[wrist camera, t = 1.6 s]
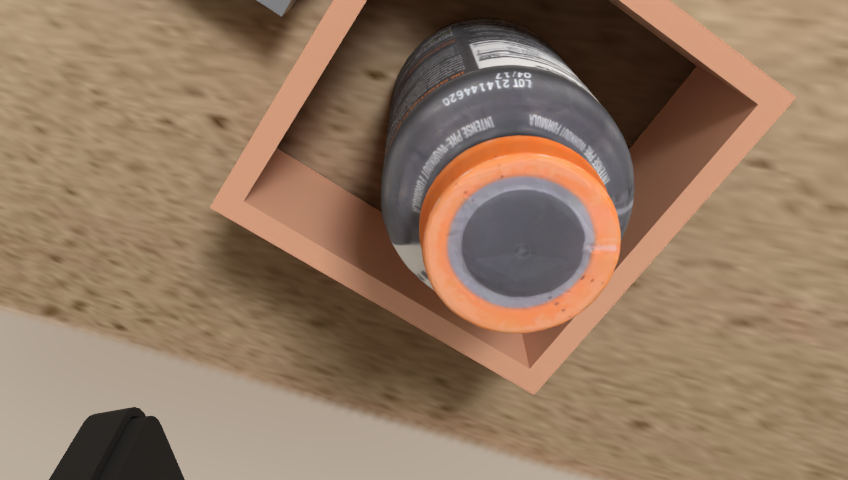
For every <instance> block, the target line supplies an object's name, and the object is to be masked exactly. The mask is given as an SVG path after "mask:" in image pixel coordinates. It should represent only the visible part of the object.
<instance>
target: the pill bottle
mask: <svg viewBox="0 0 848 480" xmlns="http://www.w3.org/2000/svg"><path fill="white" fill-rule="evenodd" d="M634 192H635V188H634V171H633V163H632V160H631V155H630V152H629V149H628V147H627V144H626V141H625V139H624V137H623V135H622V133H621V132H620V130H619V128H618V126H617V125H616V123H615V121H614V120H613V119H612V117H611V116H610V114H609V113H608V112H607V110H606V109H605V108H604V107H603V106H602V105H601V104H600V103H599V102H598V100H597V99H596V98H595V97H594V96H593V94H592V93H591V92H590V91H589V89H588V88H587V87H586V86H585V85H584V84H583V83H582V82H581V81H580V80H579V78H578V77H577V76H576V75H575V74H574V73H573V71H572V70H571V69H570V68H569V67H568V66H567V65H566V64H565V63H564V61H563V60H562V59H561V58H560V57H559V56H558V54H557V53H556V52H555V51H554V50H553V49H552V48H551V47H550V46H549V45H548V44H547V43H546V42H545V41H544V40H542V39H541V38H540V37H539V36H537V35H536V34H535V33H533V32H532V31H530V30H528V29H527V28H525V27H523V26H520V25H518V24H515V23H512V22H509V21H505V20H500V19H492V18H482V19H469V20H465V21H461V22H457V23H454V24H451V25H448V26H446V27H445V28H443V29H441V30H439V31H437V32H436V33H434V34H433V35H431V36H429V37H428V38H427V39H425V40H424V41H423V42H422V43H421V44H420V45H419V46H418V47H417V48H416V49H415V51H414V52H413V53H412V54H411V55H410V56H409V58H408V59H407V61H406V62H405V64H404V66H403V67H402V69H401V71H400V73H399V75H398V77H397V80H396V83H395V87H394V91H393V95H392V99H391V104H390V116H389V124H388V131H387V140H386V150H385V157H384V165H383V172H382V181H381V209H382V217H383V221H384V224H385V226H386V230H387V233H388V235H389V238H390V240H391V242H392V244H393V246H394V248H395V249H396V251H397V253H398V254H399V256H400V257H401V259H402V260H403V262H404V263H405V264H406V266H407V267H408V268H409V269H410V270H411V271H412V272H413V273H414V274H415V275H416V276H417V277H418V278H419V279H420V280H421V281H423V282H424V283H425V284H426V285H427V286H429V287H430V288H431V289H433V290H434V291H435V292H436V294H437V295H438V296H439V297H440V299H441V300H442V301H443V302H444V304H445V305H446V306H447V307H448V308H449V309H450V310H451V311H453V312H454V313H455V314H457V315H458V316H459V317H461V318H462V319H464V320H466V321H468V322H470V323H472V324H474V325H476V326H478V327H481V328H484V329H487V330H491V331H496V332H503V333H514V334H518V333H531V332H536V331H541V330H545V329H548V328H552V327H555V326H558V325H560V324H563V323H565V322H567V321H568V320H570V319H572V318H573V317H575V316H577V315H578V314H580V313H581V312H582V311H584V310H585V309H586V308H587V307H588V306H590V305H591V304H592V303H593V302H594V301H595V300H596V299H597V297H598V296H599V295H600V294H601V292H602V291H603V290H604V288H605V287H606V286H607V285H608V283H609V281H610V279H611V277H612V275H613V272H614V269H615V267H616V264H617V262H618V259H619V254H620V247H621V240H622V238H623V235H624V233H625V230H626V228H627V225H628V222H629V219H630V216H631V212H632V208H633V200H634Z"/></svg>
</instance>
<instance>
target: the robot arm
mask: <svg viewBox="0 0 848 480" xmlns="http://www.w3.org/2000/svg"><path fill="white" fill-rule="evenodd" d="M49 480H184V477H183V475H182V473H181V470H180V468H179V466H178V463H177V461H176V459H175V456H174V454H173V452H172V449H171V447H170V445H169V442H168V440H167V438H166V435H165V433H164V431H163V428H162V426H161V424H160V422H159V420H158V419H157V418H156V417H154V416H147V417H146V416H145V414H144V412H142V411H141V410H140V409H139V408H136V407H133V408H126V409H121V410H115V411H110V412H105V413H98V414H94V415H91V416H89V417H88V418H87V419H86V420H85V422H84V423H83V425H82V426H81V428H80V430H79V431H78V433H77V434H76V436H75V438H74V439H73V441H72V443H71V444H70V446H69V448H68V449H67V451H66V453H65V454H64V456H63V458H62V459H61V461H60V463H59V464H58V466H57V468H56V469H55V471H54V473H53V474H52V476H51V477H50V479H49Z"/></svg>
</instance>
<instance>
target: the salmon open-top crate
mask: <svg viewBox="0 0 848 480" xmlns="http://www.w3.org/2000/svg"><path fill="white" fill-rule="evenodd" d="M366 1H367V0H333V1H332V3H331V5H330V6H329V8H328V10H327V12H326V13H325V15H324V17H323V18H322V20H321V22H320V23H319V25H318V27H317V28H316V30H315V32H314V33H313V35H312V37H311V38H310V40H309V42H308V43H307V45H306V47H305V48H304V50H303V52H302V54H301V55H300V57H299V59H298V60H297V62H296V64H295V65H294V67H293V69H292V70H291V72H290V74H289V75H288V77H287V79H286V80H285V82H284V84H283V85H282V87H281V89H280V90H279V92H278V94H277V96H276V97H275V99H274V101H273V102H272V104H271V106H270V107H269V109H268V111H267V112H266V114H265V116H264V117H263V119H262V121H261V122H260V124H259V126H258V127H257V129H256V131H255V132H254V134H253V136H252V138H251V139H250V141H249V143H248V144H247V146H246V148H245V149H244V151H243V153H242V154H241V156H240V158H239V159H238V161H237V163H236V164H235V166H234V168H233V169H232V171H231V173H230V174H229V176H228V178H227V180H226V181H225V183H224V185H223V186H222V188H221V190H220V191H219V193H218V195H217V196H216V198H215V200H214V201H213V203H212V205H211V206H210V208H211V209H213V210H215V211H216V212H218V213H220V214H222V215H223V216H225V217H227V218H229V219H230V220H232V221H234V222H236V223H237V224H239V225H241V226H242V227H244V228H246V229H248V230H249V231H251V232H253V233H255V234H256V235H258V236H260V237H261V238H263V239H265V240H267V241H268V242H270V243H272V244H274V245H275V246H277V247H279V248H281V249H282V250H284V251H286V252H287V253H289V254H291V255H293V256H294V257H296V258H298V259H300V260H301V261H303V262H305V263H307V264H308V265H310V266H312V267H313V268H315V269H317V270H319V271H320V272H322V273H324V274H326V275H327V276H329V277H331V278H332V279H334V280H336V281H338V282H339V283H341V284H343V285H345V286H346V287H348V288H350V289H352V290H353V291H355V292H357V293H358V294H360V295H362V296H364V297H365V298H367V299H369V300H371V301H372V302H374V303H376V304H378V305H379V306H381V307H383V308H384V309H386V310H388V311H390V312H391V313H393V314H395V315H397V316H398V317H400V318H402V319H403V320H405V321H407V322H409V323H410V324H412V325H414V326H416V327H417V328H419V329H421V330H423V331H424V332H426V333H428V334H429V335H431V336H433V337H435V338H436V339H438V340H440V341H442V342H443V343H445V344H447V345H449V346H450V347H452V348H454V349H455V350H457V351H459V352H461V353H462V354H464V355H466V356H468V357H469V358H471V359H473V360H474V361H476V362H478V363H480V364H481V365H483V366H485V367H487V368H488V369H490V370H492V371H494V372H495V373H497V374H499V375H500V376H502V377H504V378H506V379H507V380H509V381H511V382H513V383H514V384H516V385H518V386H520V387H521V388H523V389H525V390H526V391H528V392H530V393H532V394H533V395H534V394H535V393H536V392H537V391H538V390H539V389H540V388H541V387H542V385H543V384H544V383H545V382H546V381H547V380H548V379H549V377H550V376H551V375H552V374H553V373H554V372H555V371H556V370H557V368H558V367H559V366H560V365H561V364H562V363H563V362H564V360H565V359H566V358H567V357H568V356H569V355H570V354H571V353H572V351H573V350H574V349H575V348H576V347H577V346H578V345H579V343H580V342H581V341H582V340H583V339H584V338H585V337H586V336H587V334H588V333H589V332H590V331H591V330H592V329H593V328H594V326H595V325H596V324H597V323H598V322H599V321H600V320H601V318H602V317H603V316H604V315H605V314H606V313H607V312H608V311H609V309H610V308H611V307H612V306H613V305H614V304H615V303H616V301H617V300H618V299H619V298H620V297H621V296H622V295H623V294H624V292H625V291H626V290H627V289H628V288H629V287H630V286H631V284H632V283H633V282H634V281H635V280H636V279H637V278H638V277H639V275H640V274H641V273H642V272H643V271H644V270H645V269H646V267H647V266H648V265H649V264H650V263H651V262H652V261H653V260H654V258H655V257H656V256H657V255H658V254H659V253H660V252H661V250H662V249H663V248H664V247H665V246H666V245H667V244H668V243H669V241H670V240H671V239H672V238H673V237H674V236H675V235H676V233H677V232H678V231H679V230H680V229H681V228H682V227H683V225H684V224H685V223H686V222H687V221H688V220H689V219H690V218H691V216H692V215H693V214H694V213H695V212H696V211H697V210H698V208H699V207H700V206H701V205H702V204H703V203H704V202H705V201H706V199H707V198H708V197H709V196H710V195H711V194H712V193H713V191H714V190H715V189H716V188H717V187H718V186H719V185H720V184H721V182H722V181H723V180H724V179H725V178H726V177H727V176H728V174H729V173H730V172H731V171H732V170H733V169H734V168H735V167H736V165H737V164H738V163H739V162H740V161H741V160H742V159H743V157H744V156H745V155H746V154H747V153H748V152H749V151H750V150H751V148H752V147H753V146H754V145H755V144H756V143H757V142H758V140H759V139H760V138H761V137H762V136H763V135H764V134H765V132H766V131H767V130H768V129H769V128H770V127H771V126H772V125H773V123H774V122H775V121H776V120H777V119H778V118H779V117H780V115H781V114H782V113H783V112H784V111H785V110H786V109H787V108H788V106H789V105H790V104H791V103H792V102H793V101H794V100H795V98H796V97H795V96H794V95H793V94H791V93H790V92H789V91H788V90H786V89H785V88H784V87H782V86H781V85H780V84H778V83H777V82H776V81H774V80H773V79H772V78H771V77H769V76H768V75H767V74H765V73H764V72H763V71H761V70H760V69H759V68H757V67H756V66H755V65H754V64H752V63H751V62H750V61H748V60H747V59H746V58H744V57H743V56H742V55H740V54H739V53H738V52H737V51H735V50H734V49H733V48H731V47H730V46H729V45H727V44H726V43H725V42H723V41H722V40H721V39H720V38H718V37H717V36H716V35H714V34H713V33H712V32H710V31H709V30H708V29H706V28H705V27H704V26H703V25H701V24H700V23H699V22H697V21H696V20H695V19H693V18H692V17H691V16H689V15H688V14H687V13H686V12H684V11H683V10H682V9H680V8H679V7H678V6H676V5H675V4H674V3H672V2H671V1H670V0H609V1H610V2H611V3H613V4H614V5H615V6H617V7H618V8H619V9H621V10H622V11H623V12H625V13H626V14H627V15H629V16H630V17H631V18H633V19H634V20H636V21H637V22H638V23H640V24H641V25H642V26H644V27H645V28H646V29H648V30H649V31H650V32H652V33H653V34H654V35H656V36H657V37H658V38H660V39H661V40H662V41H664V42H665V43H666V44H668V45H669V46H670V47H672V48H673V49H674V50H676V51H677V52H678V53H680V54H681V55H682V56H684V57H685V58H686V59H688V60H689V61H690V62H692V63H693V64H694V65H696V68H695V69H694V70H693V71H692V72H691V74H690V75H689V76H688V77H687V79H686V80H685V81H684V82H683V84H682V85H681V86H680V87H679V88H678V90H677V91H676V92H675V93H674V95H673V96H672V97H671V98H670V100H669V101H668V102H667V103H666V104H665V106H664V107H663V108H662V109H661V111H660V112H659V113H658V114H657V116H656V117H655V118H654V119H653V120H652V122H651V123H650V124H649V125H648V127H647V128H646V129H645V130H644V132H643V133H642V134H641V135H640V136H639V138H638V139H637V140H636V141H635V143H634V144H633V145H632V146H631V147H630V149H629V152H630V155H631V160H632V163H633V171H634V188H635V192H634V200H633V208H632V212H631V216H630V219H629V222H628V225H627V228H626V230H625V233H624V235H623V238H622V240H621V247H620V254H619V259H618V262H617V264H616V267H615V269H614V272H613V275H612V277H611V279H610V281H609V283H608V285H607V286H606V287H605V288H604V290H603V291H602V292H601V294H600V295H599V296H598V297H597V299H596V300H595V301H594V302H593V303H592V304H591V305H590V306H588V307H587V308H586V309H585V310H584V311H582V312H581V313H580V314H578V315H577V316H575V317H573V318H572V319H570V320H568V321H567V322H565V323H563V324H560V325H558V326H555V327H552V328H548V329H545V330H541V331H536V332H531V333H518V334H514V333H503V332H496V331H491V330H487V329H484V328H481V327H478V326H476V325H474V324H472V323H470V322H468V321H466V320H464V319H462V318H461V317H459V316H458V315H457V314H455V313H454V312H453V311H451V310H450V309H449V308H448V307H447V306H446V305H445V304H444V302H443V301H442V300H441V299H440V297H439V296H438V295H437V294H436V292H435V291H434V290H433V289H431V288H430V287H429V286H427V285H426V284H425V283H424V282H423V281H421V280H420V279H419V278H418V277H417V276H416V275H415V274H414V273H413V272H412V271H411V270H410V269H409V268H408V267H407V266H406V264H405V263H404V262H403V260H402V259H401V257H400V256H399V254H398V253H397V251H396V249H395V248H394V246H393V244H392V242H391V240H390V238H389V235H388V233H387V230H386V226H385V224H384V221H383V217H382V212H381V211H379V210H377V209H376V208H374V207H372V206H371V205H369V204H367V203H366V202H364V201H363V200H361V199H359V198H358V197H356V196H354V195H353V194H351V193H349V192H348V191H346V190H345V189H343V188H341V187H340V186H338V185H336V184H335V183H333V182H331V181H330V180H328V179H327V178H325V177H323V176H322V175H320V174H318V173H317V172H315V171H313V170H312V169H310V168H309V167H307V166H305V165H304V164H302V163H300V162H299V161H297V160H295V159H294V158H292V157H291V156H289V155H287V154H286V153H284V152H282V151H281V150H279V149H277V146H278V144H279V143H280V141H281V140H282V138H283V136H284V135H285V133H286V131H287V130H288V128H289V127H290V125H291V123H292V122H293V120H294V118H295V117H296V115H297V113H298V112H299V110H300V109H301V107H302V105H303V104H304V102H305V100H306V99H307V97H308V96H309V94H310V92H311V91H312V89H313V87H314V86H315V84H316V82H317V81H318V79H319V78H320V76H321V74H322V73H323V71H324V69H325V68H326V66H327V65H328V63H329V61H330V60H331V58H332V56H333V55H334V53H335V51H336V50H337V48H338V47H339V45H340V43H341V42H342V40H343V38H344V37H345V35H346V34H347V32H348V30H349V29H350V27H351V25H352V24H353V22H354V20H355V19H356V17H357V16H358V14H359V12H360V11H361V9H362V7H363V6H364V4H365V3H366Z"/></svg>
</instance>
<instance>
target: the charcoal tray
mask: <svg viewBox="0 0 848 480" xmlns="http://www.w3.org/2000/svg"><path fill="white" fill-rule="evenodd" d="M257 1H258V2H260V3H261V4H263V5H264V6H266V7H267V8H269V9H270V10H272V11H274V12H275V13H277V14H278V15H280V16H281V17H282V16H283V15H284V14H286V13H287V12H288V11H289V10H290V9H292V8H293V6H294V4H295V3H296V1H297V0H257Z"/></svg>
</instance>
